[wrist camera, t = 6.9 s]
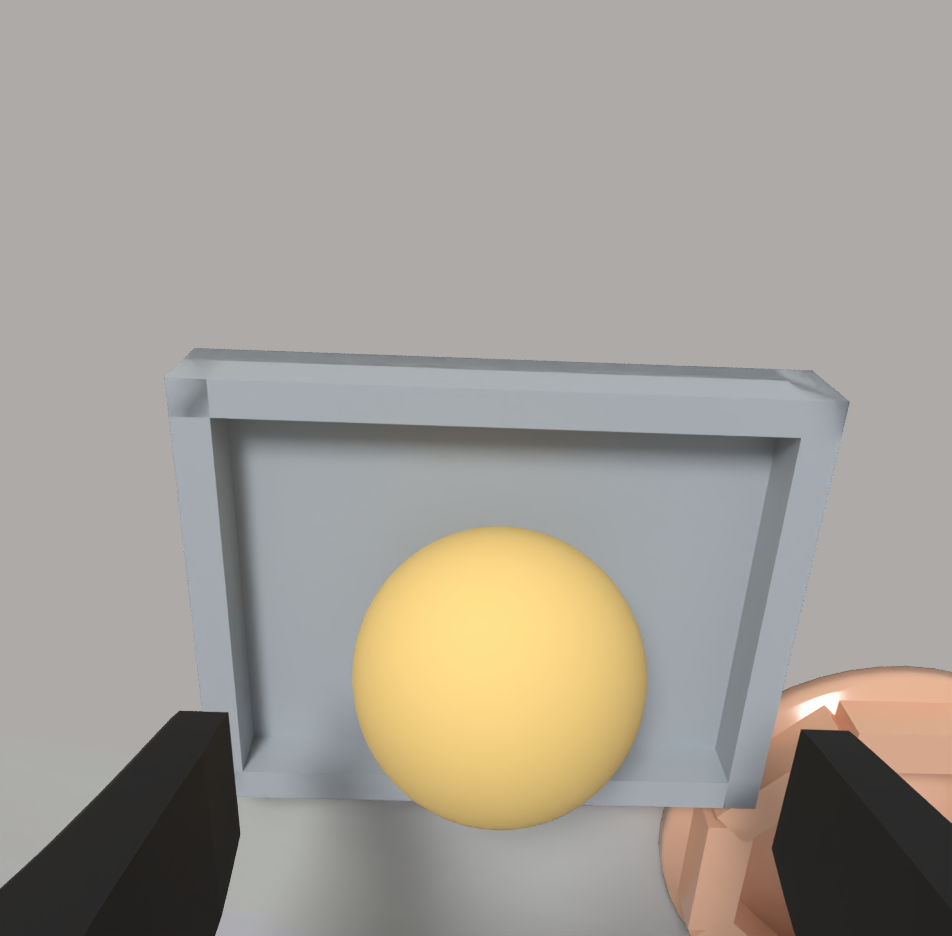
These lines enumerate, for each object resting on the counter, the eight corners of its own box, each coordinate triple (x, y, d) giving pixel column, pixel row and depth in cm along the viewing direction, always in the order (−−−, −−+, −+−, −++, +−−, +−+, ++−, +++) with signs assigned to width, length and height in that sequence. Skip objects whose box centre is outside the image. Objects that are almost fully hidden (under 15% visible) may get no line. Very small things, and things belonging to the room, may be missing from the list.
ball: (633, 481, 14) (698, 639, 10) (609, 696, 16) (656, 903, 12) (366, 475, 14) (322, 632, 10) (372, 692, 16) (337, 898, 12)
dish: (1120, 672, 16) (1175, 721, 15) (995, 965, 20) (1031, 1025, 19) (688, 660, 16) (707, 709, 15) (636, 958, 20) (648, 1019, 18)
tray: (811, 370, 14) (849, 401, 13) (732, 751, 17) (754, 809, 16) (194, 348, 14) (164, 377, 12) (232, 739, 17) (211, 795, 16)
